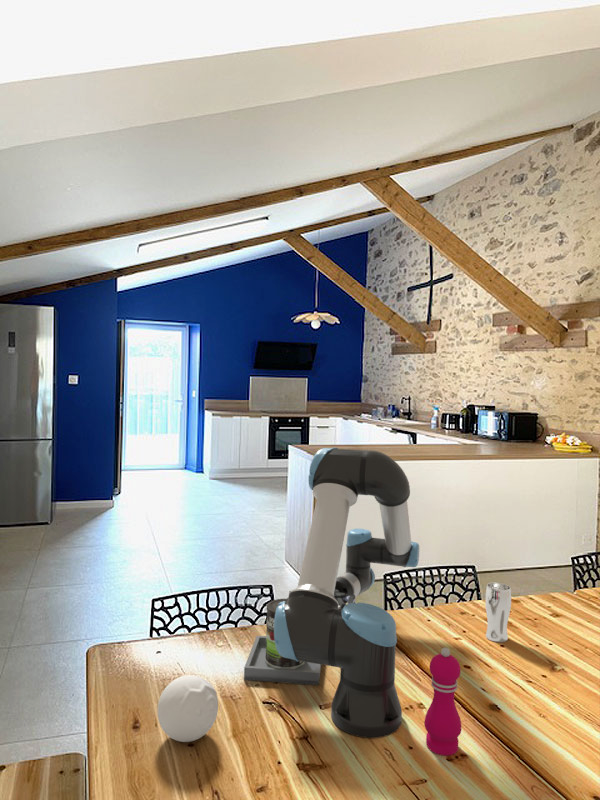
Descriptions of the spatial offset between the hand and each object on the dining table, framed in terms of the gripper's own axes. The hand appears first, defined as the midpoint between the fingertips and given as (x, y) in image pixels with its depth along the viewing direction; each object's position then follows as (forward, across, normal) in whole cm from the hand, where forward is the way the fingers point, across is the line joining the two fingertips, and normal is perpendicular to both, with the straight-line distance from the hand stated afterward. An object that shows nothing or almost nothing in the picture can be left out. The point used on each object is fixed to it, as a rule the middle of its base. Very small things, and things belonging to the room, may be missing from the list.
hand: (304, 612), depth 159 cm
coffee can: (+9, 0, -10) cm, 13 cm away
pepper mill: (+19, -44, -11) cm, 49 cm away
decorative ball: (+46, -1, -11) cm, 47 cm away
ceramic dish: (+9, 0, -11) cm, 14 cm away
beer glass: (-40, -40, -11) cm, 58 cm away
